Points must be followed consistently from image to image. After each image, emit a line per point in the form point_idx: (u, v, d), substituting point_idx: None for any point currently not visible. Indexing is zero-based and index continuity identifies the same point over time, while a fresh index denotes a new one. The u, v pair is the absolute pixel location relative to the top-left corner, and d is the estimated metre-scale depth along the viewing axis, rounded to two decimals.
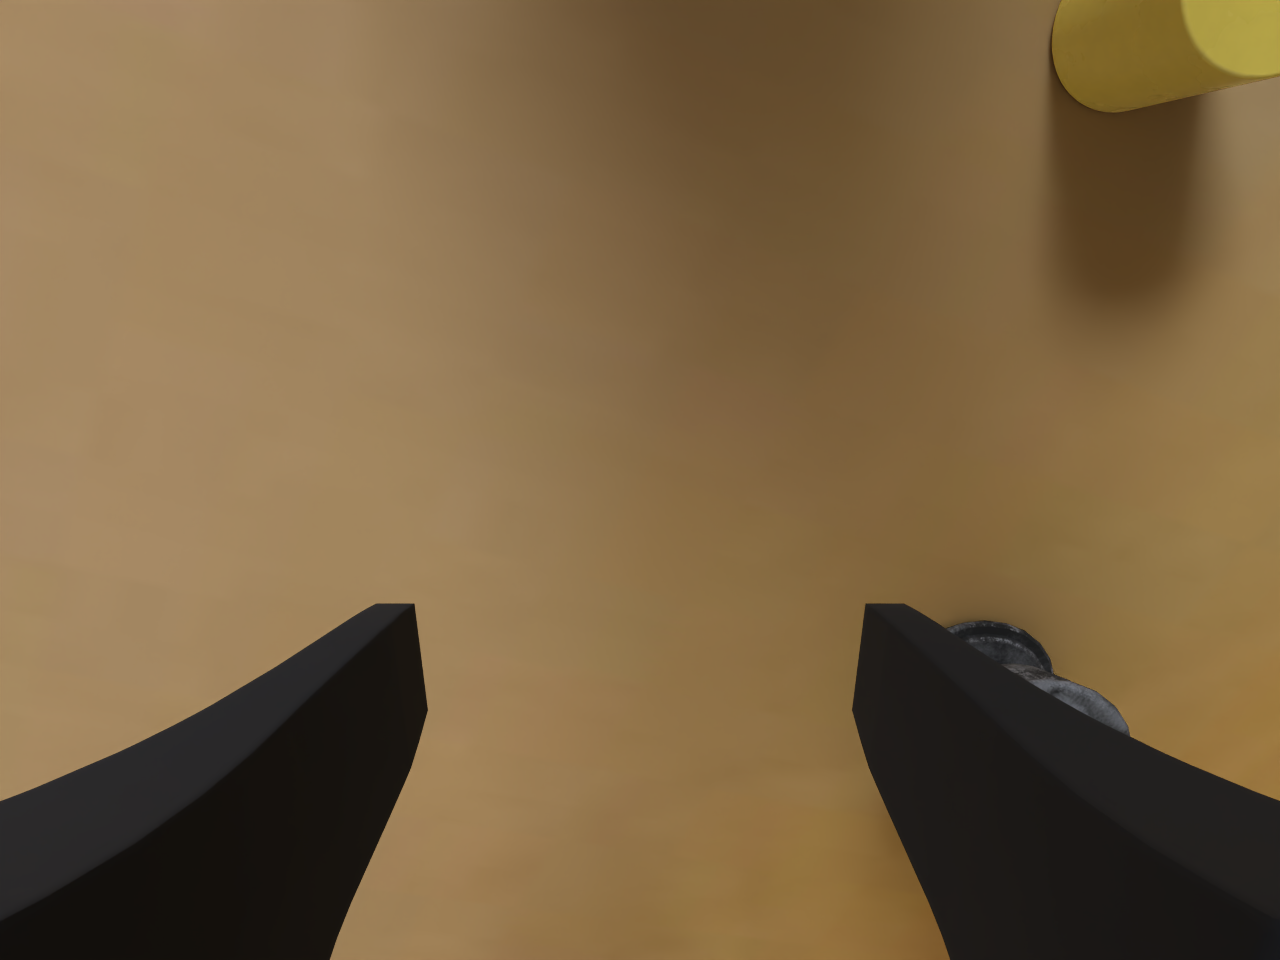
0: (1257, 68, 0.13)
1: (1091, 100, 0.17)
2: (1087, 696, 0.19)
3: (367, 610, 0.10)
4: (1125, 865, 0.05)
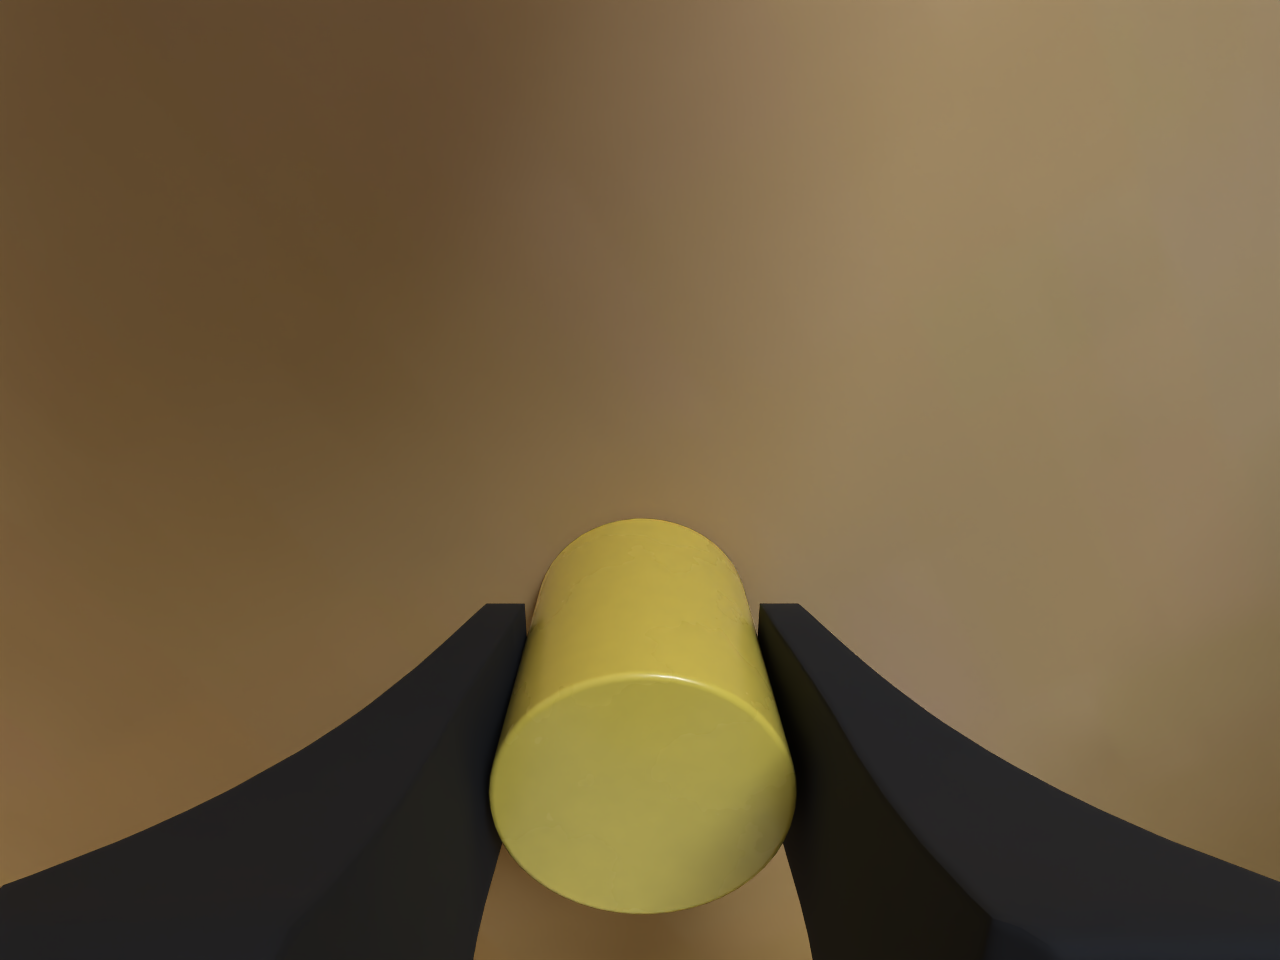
0: (564, 889, 0.09)
1: None
2: None
3: (482, 610, 0.10)
4: (910, 865, 0.05)
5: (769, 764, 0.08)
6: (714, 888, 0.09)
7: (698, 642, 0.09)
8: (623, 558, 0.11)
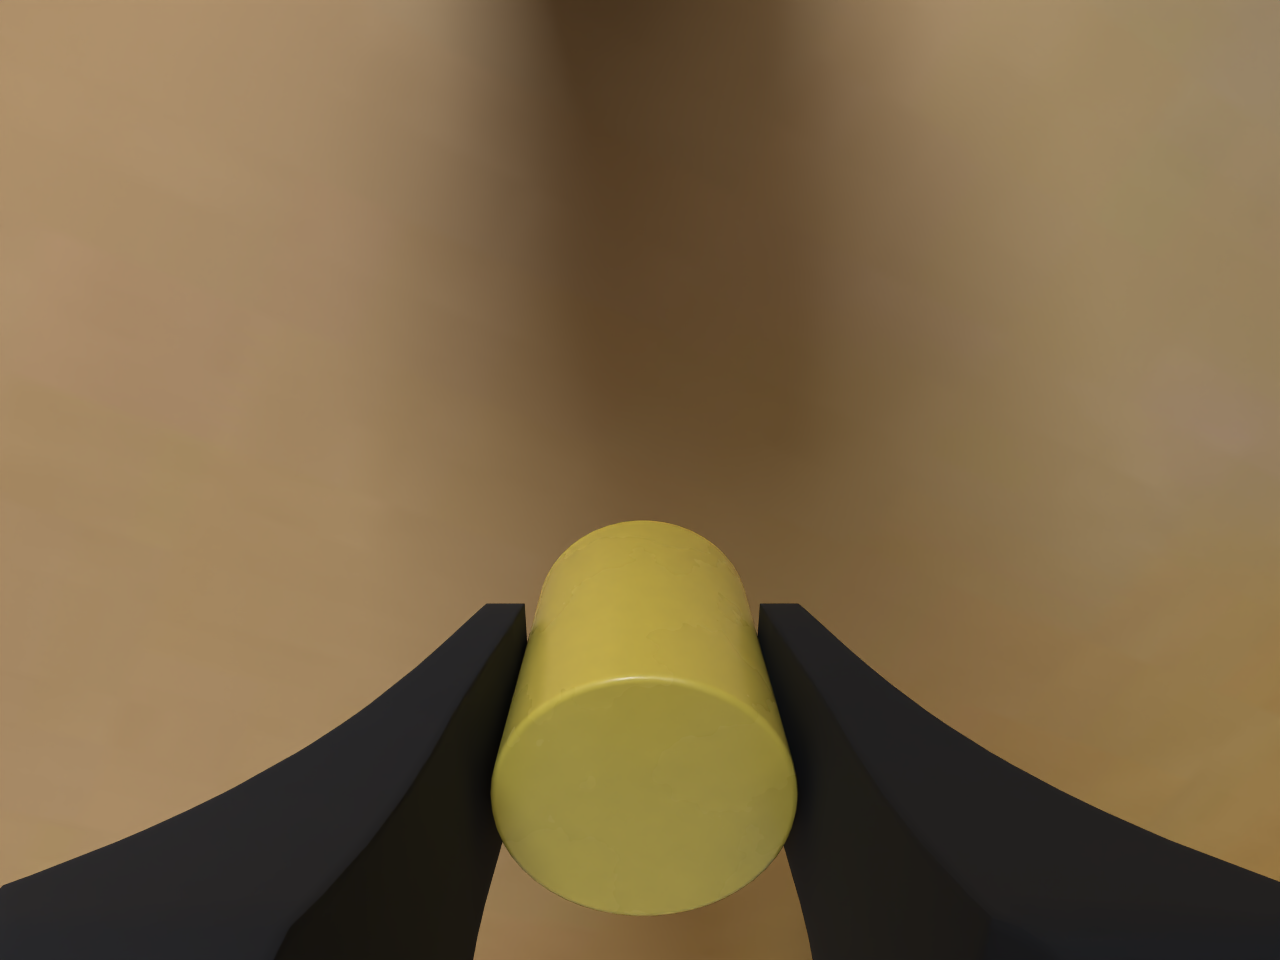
0: (565, 891, 0.09)
1: None
2: None
3: (482, 610, 0.10)
4: (910, 865, 0.05)
5: (770, 766, 0.08)
6: (715, 890, 0.09)
7: (699, 643, 0.09)
8: (624, 560, 0.11)
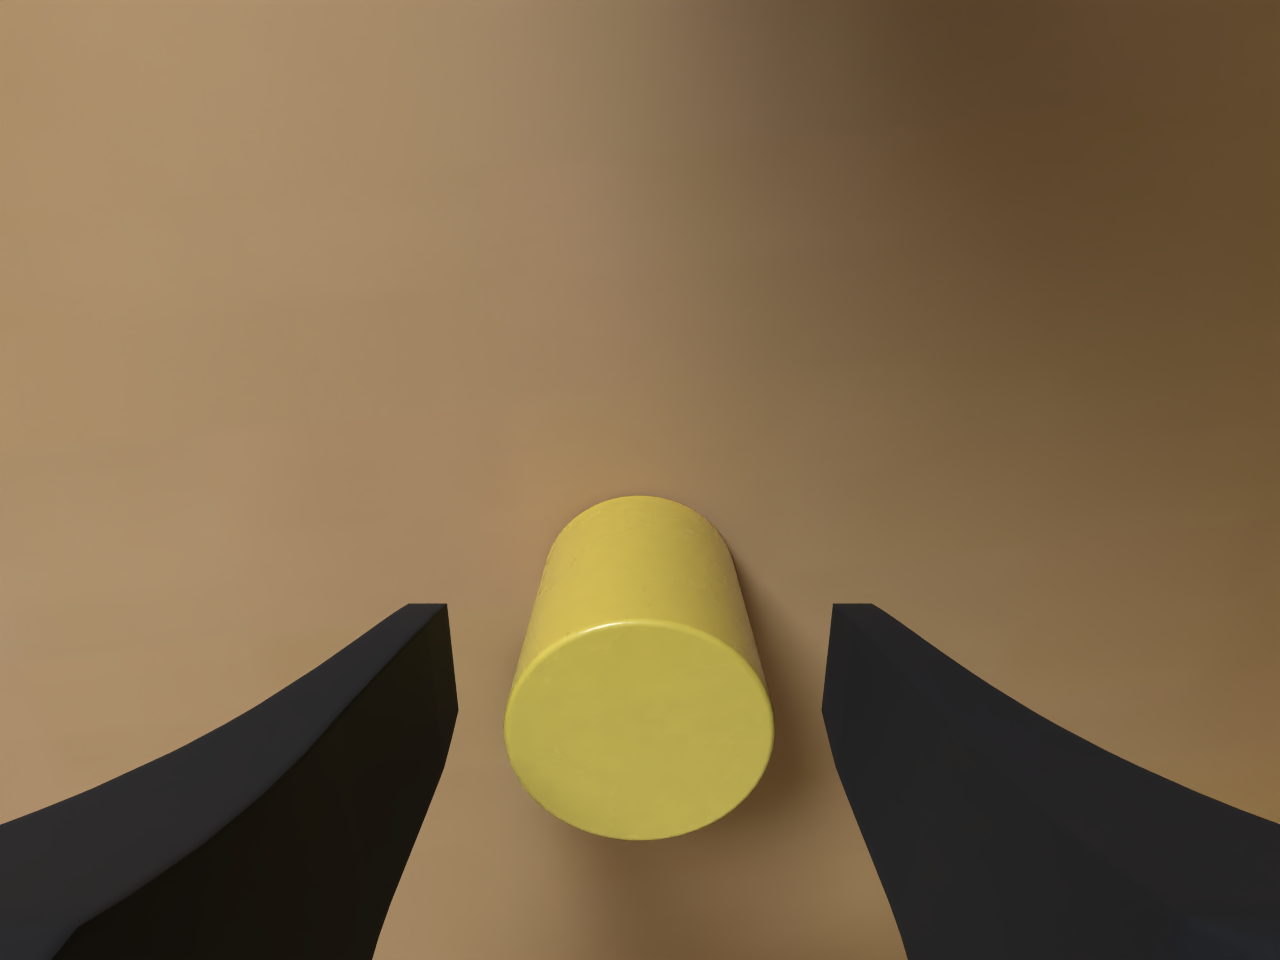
0: (569, 816, 0.10)
1: None
2: None
3: (401, 610, 0.10)
4: (1059, 865, 0.05)
5: (750, 702, 0.09)
6: (703, 816, 0.10)
7: (689, 596, 0.10)
8: (623, 528, 0.12)
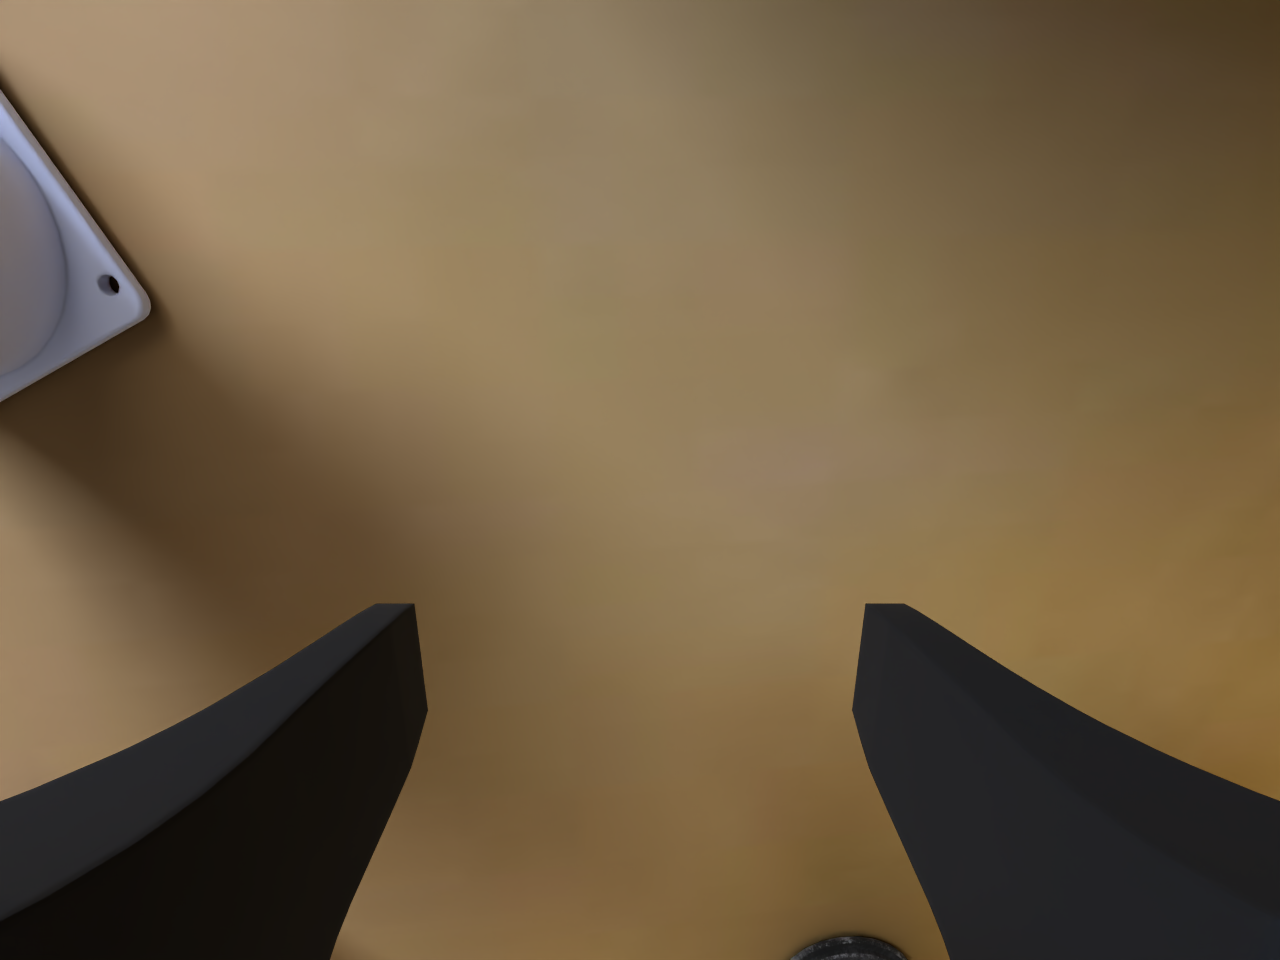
0: None
1: None
2: None
3: (367, 610, 0.10)
4: (1126, 865, 0.05)
5: None
6: None
7: None
8: None
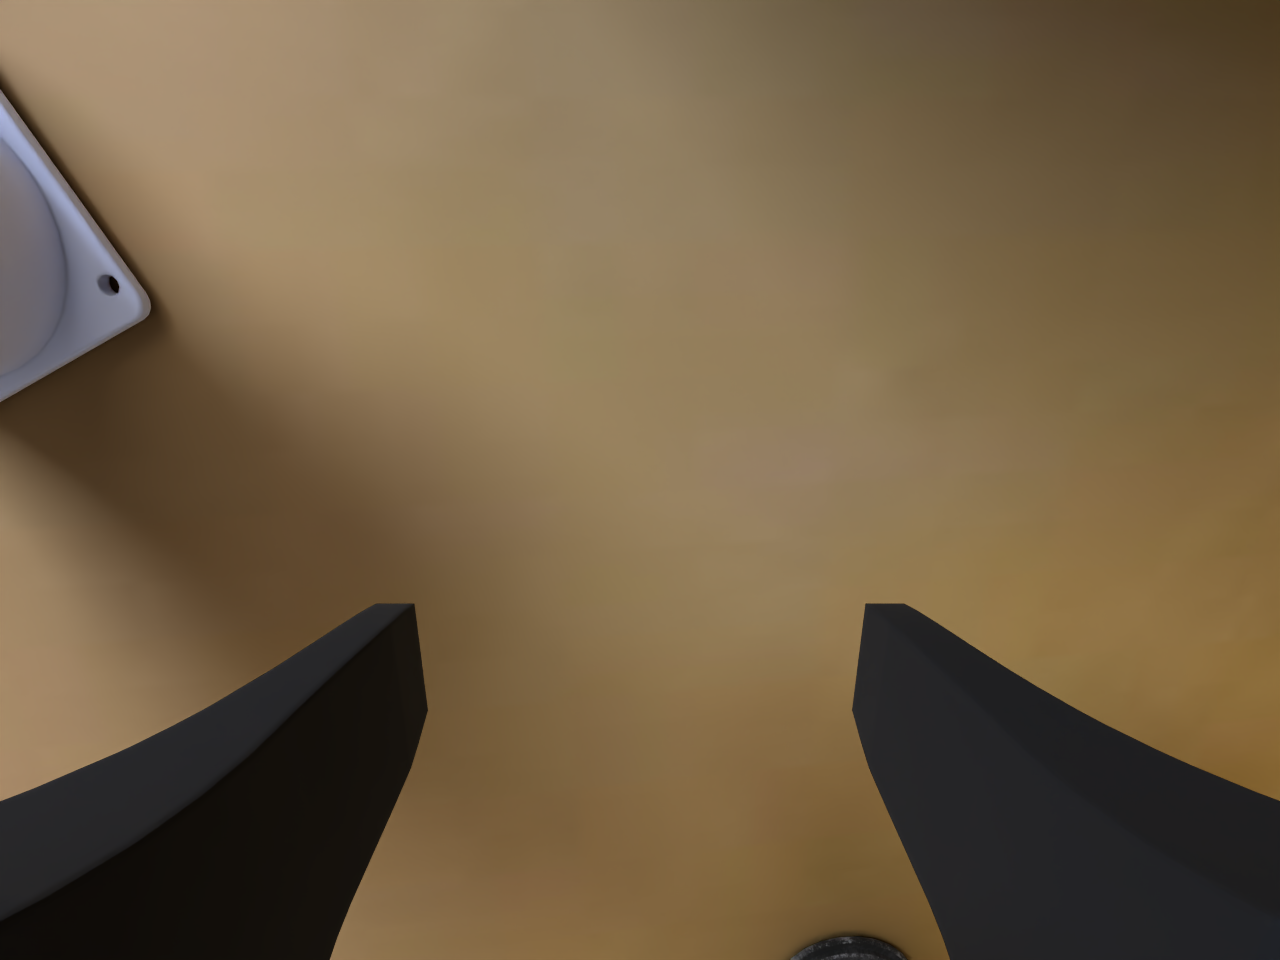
0: None
1: None
2: None
3: (367, 610, 0.10)
4: (1126, 865, 0.05)
5: None
6: None
7: None
8: None
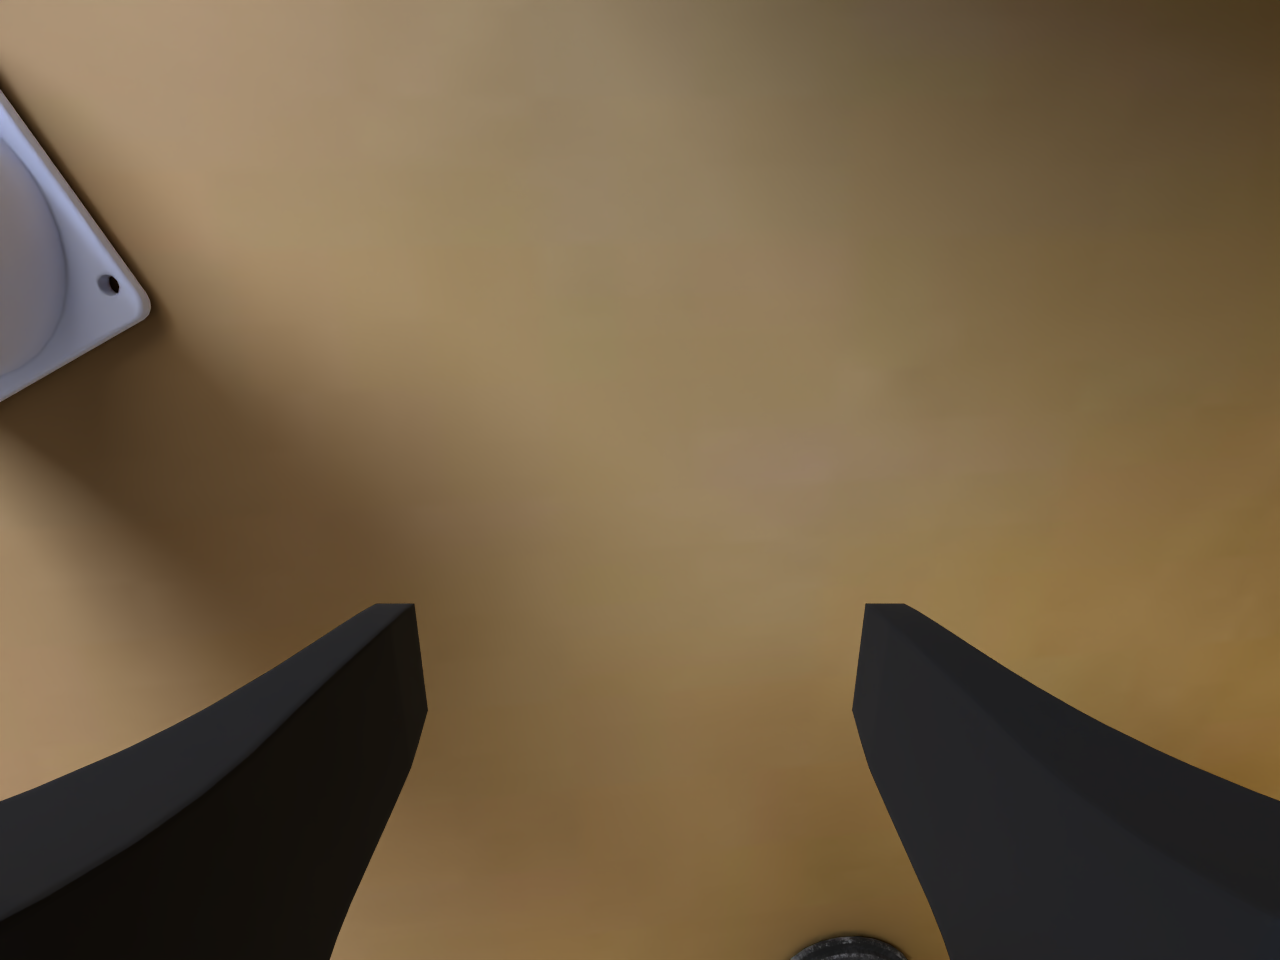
0: None
1: None
2: None
3: (367, 610, 0.10)
4: (1126, 865, 0.05)
5: None
6: None
7: None
8: None
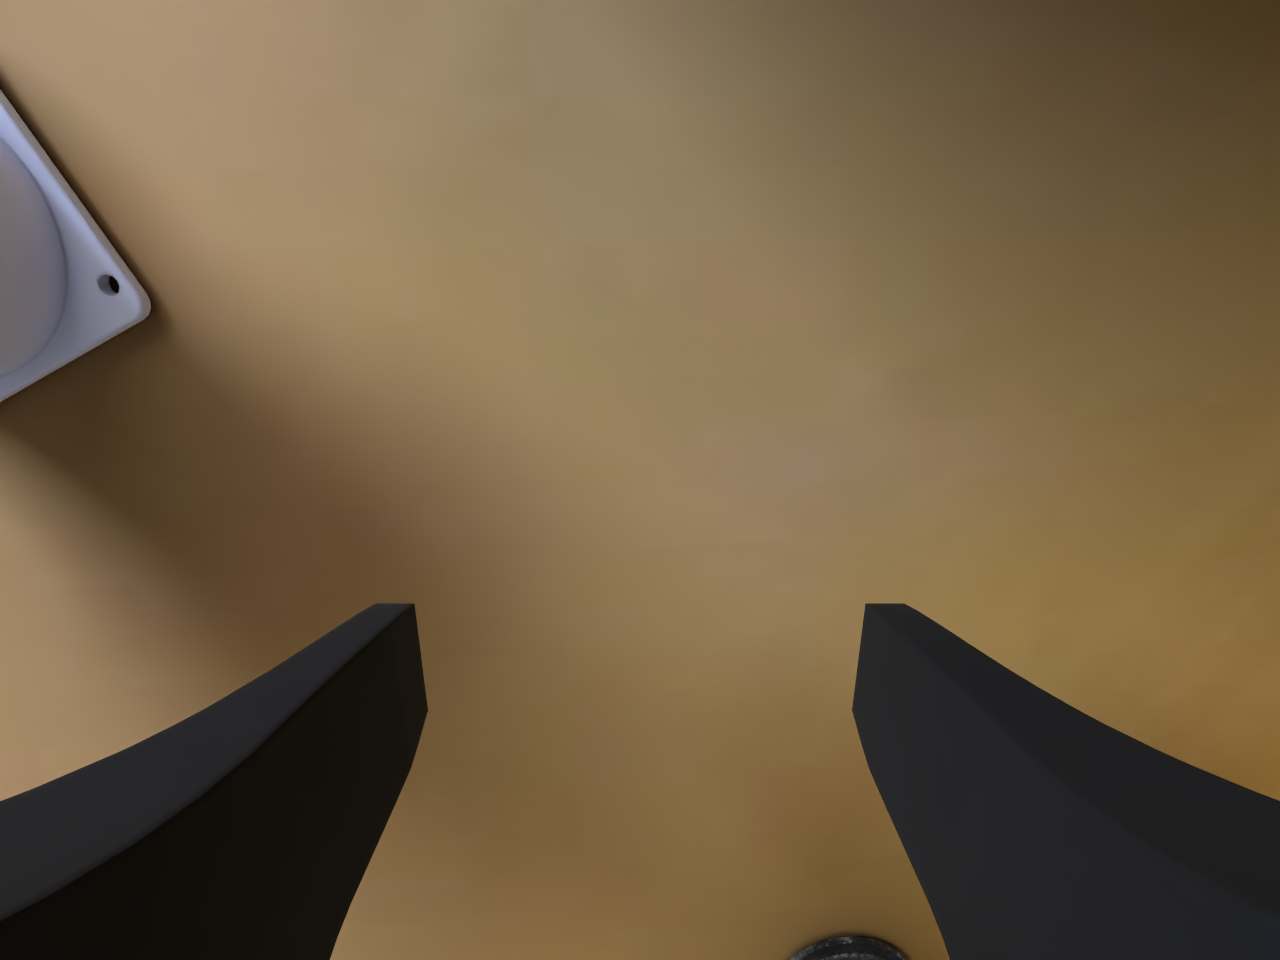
0: None
1: None
2: None
3: (367, 610, 0.10)
4: (1126, 865, 0.05)
5: None
6: None
7: None
8: None
